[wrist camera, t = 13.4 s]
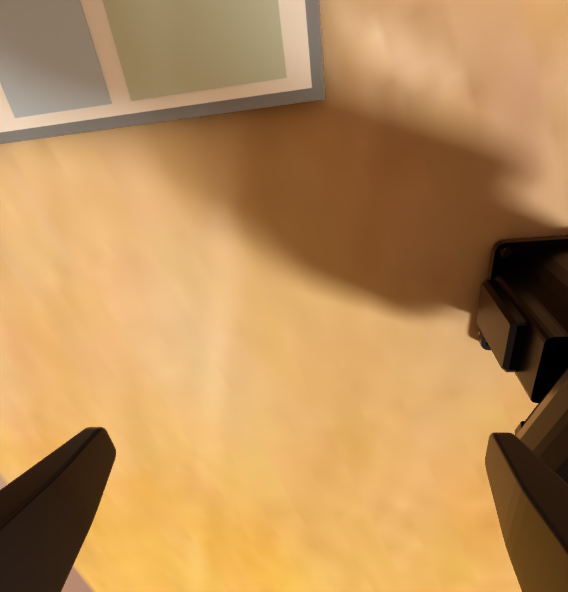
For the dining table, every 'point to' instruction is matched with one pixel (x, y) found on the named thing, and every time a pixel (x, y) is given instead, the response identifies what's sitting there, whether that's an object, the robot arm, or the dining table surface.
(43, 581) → the robot arm
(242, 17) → the picture board
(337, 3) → the dining table surface
